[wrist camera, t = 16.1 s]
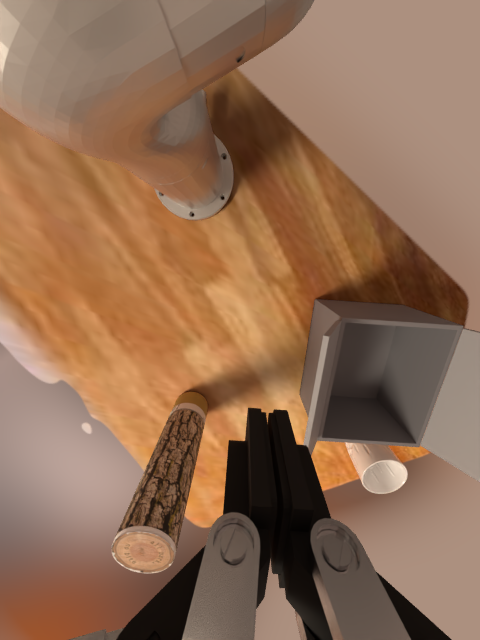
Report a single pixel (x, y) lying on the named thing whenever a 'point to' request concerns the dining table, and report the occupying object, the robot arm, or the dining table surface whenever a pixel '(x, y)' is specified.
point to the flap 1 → (321, 384)
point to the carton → (379, 371)
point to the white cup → (377, 467)
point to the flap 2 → (459, 409)
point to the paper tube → (163, 491)
